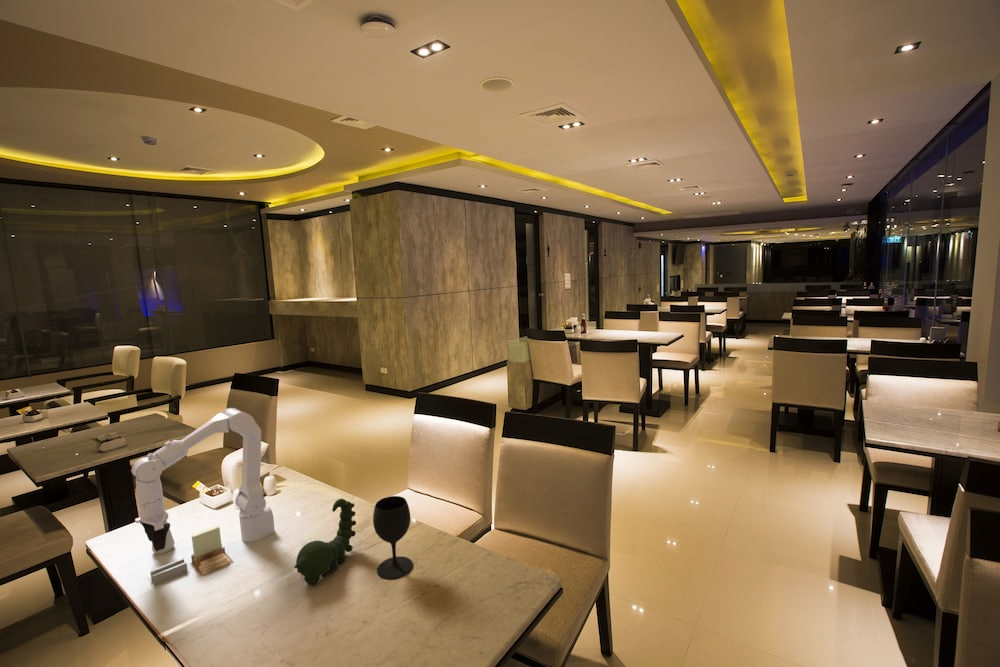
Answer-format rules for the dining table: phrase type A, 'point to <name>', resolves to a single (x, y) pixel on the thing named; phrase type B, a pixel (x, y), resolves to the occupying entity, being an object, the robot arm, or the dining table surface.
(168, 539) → the salt shaker
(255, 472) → the robot arm
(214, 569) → the lower pine offcut
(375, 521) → the wine glass
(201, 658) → the dining table surface
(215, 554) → the walnut rack
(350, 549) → the toy figurine
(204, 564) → the upper pine offcut
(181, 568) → the slate stand
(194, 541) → the sage sheet
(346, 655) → the dining table surface
